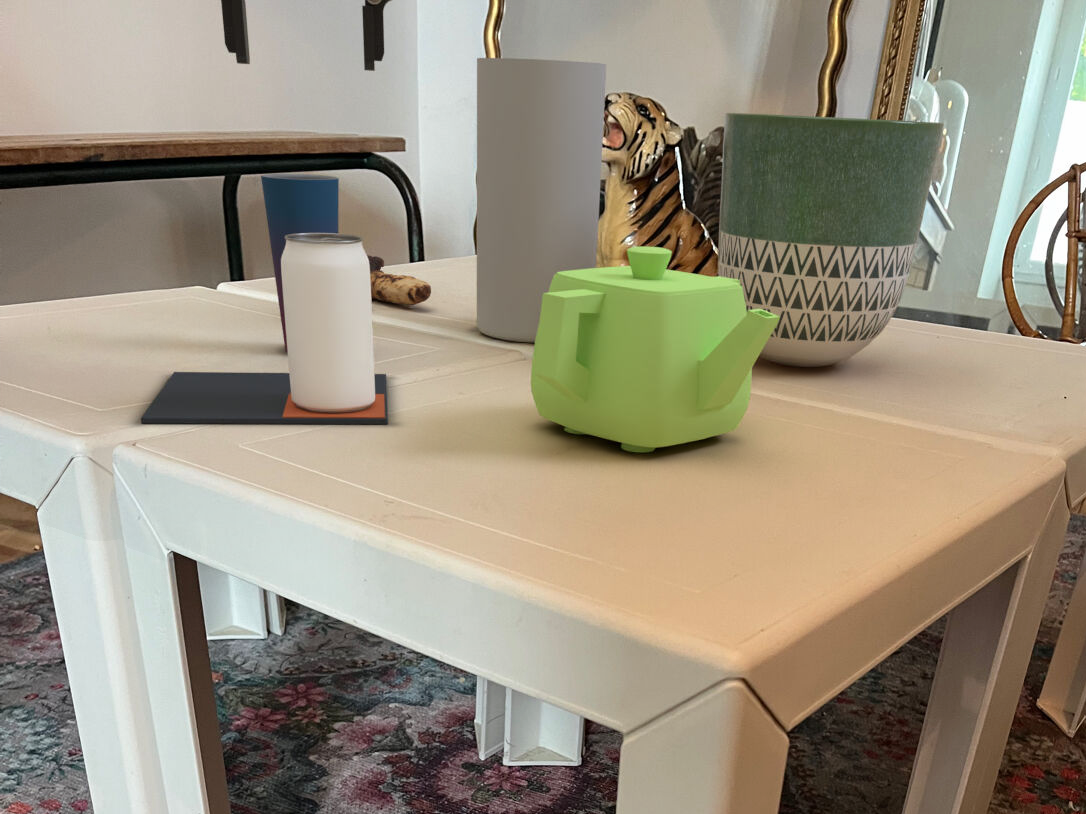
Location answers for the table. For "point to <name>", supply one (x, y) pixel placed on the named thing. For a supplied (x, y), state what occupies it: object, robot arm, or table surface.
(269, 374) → the mat
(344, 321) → the can
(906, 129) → the planter
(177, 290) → the table surface
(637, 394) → the teapot
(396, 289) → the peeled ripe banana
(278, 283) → the cup
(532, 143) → the cylinder vase
